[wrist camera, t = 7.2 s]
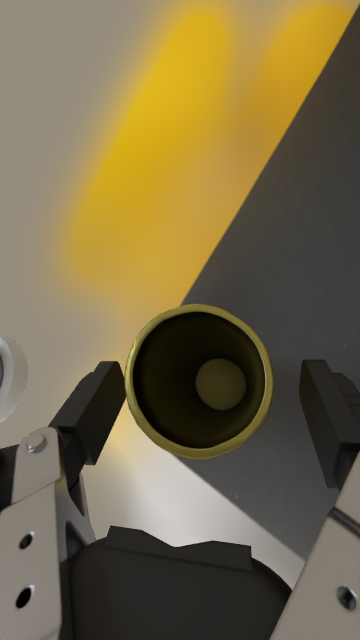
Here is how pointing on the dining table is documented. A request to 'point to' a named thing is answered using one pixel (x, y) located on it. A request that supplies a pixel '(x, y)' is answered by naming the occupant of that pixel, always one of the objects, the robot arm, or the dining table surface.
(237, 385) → the vase
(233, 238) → the dining table surface
